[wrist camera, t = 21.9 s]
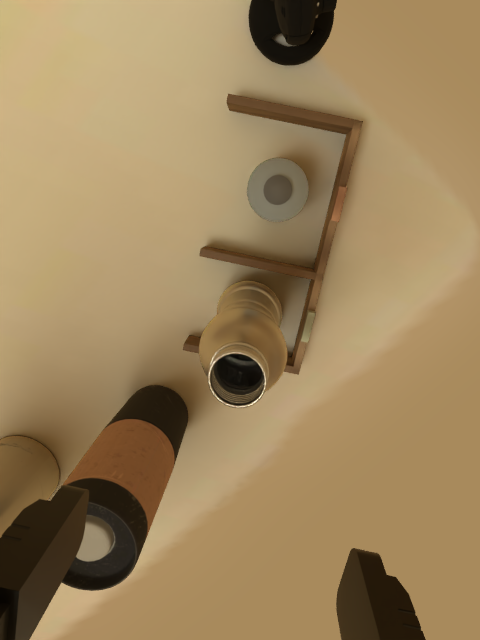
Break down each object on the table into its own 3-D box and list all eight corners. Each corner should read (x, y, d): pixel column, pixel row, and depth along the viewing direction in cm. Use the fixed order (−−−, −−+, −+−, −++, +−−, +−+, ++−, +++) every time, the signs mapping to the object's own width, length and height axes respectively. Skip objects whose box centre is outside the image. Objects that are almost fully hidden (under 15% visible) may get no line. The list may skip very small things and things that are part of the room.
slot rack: (296, 364, 46) (299, 377, 42) (188, 341, 46) (181, 352, 42) (355, 128, 40) (364, 119, 36) (230, 102, 40) (227, 91, 36)
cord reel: (295, 225, 42) (300, 227, 36) (245, 214, 42) (241, 214, 36) (308, 171, 41) (316, 164, 35) (256, 160, 41) (254, 150, 35)
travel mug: (199, 435, 49) (155, 580, 29) (138, 450, 50) (56, 602, 30) (177, 374, 47) (114, 487, 28) (114, 392, 48) (11, 513, 29)
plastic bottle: (263, 265, 44) (258, 306, 24) (292, 322, 45) (310, 404, 25) (208, 294, 45) (162, 354, 25) (238, 348, 46) (217, 446, 26)
